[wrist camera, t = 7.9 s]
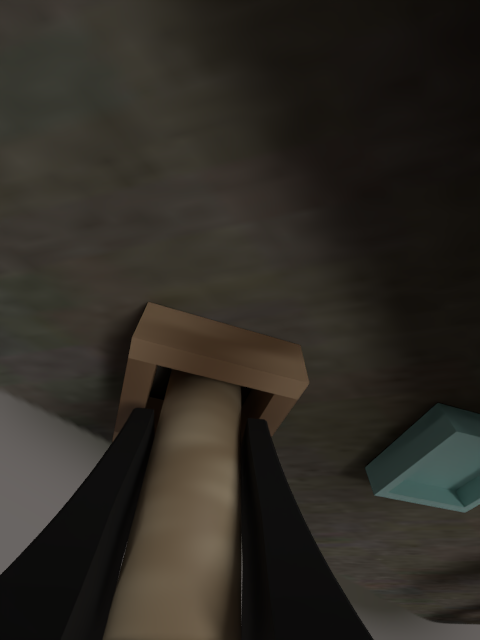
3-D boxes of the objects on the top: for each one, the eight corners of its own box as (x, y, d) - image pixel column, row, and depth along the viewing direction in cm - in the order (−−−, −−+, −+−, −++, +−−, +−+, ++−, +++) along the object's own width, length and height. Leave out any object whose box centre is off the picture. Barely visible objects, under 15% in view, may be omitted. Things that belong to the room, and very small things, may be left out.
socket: (300, 345, 12) (309, 383, 10) (247, 430, 15) (247, 469, 14) (148, 301, 11) (132, 337, 9) (126, 404, 14) (111, 443, 13)
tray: (536, 429, 15) (561, 457, 14) (450, 485, 19) (464, 512, 17) (437, 402, 14) (456, 431, 13) (364, 467, 17) (374, 495, 16)
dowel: (251, 361, 13) (262, 639, 6) (228, 405, 14) (218, 660, 8) (180, 342, 12) (109, 626, 6) (164, 391, 14) (96, 654, 7)
